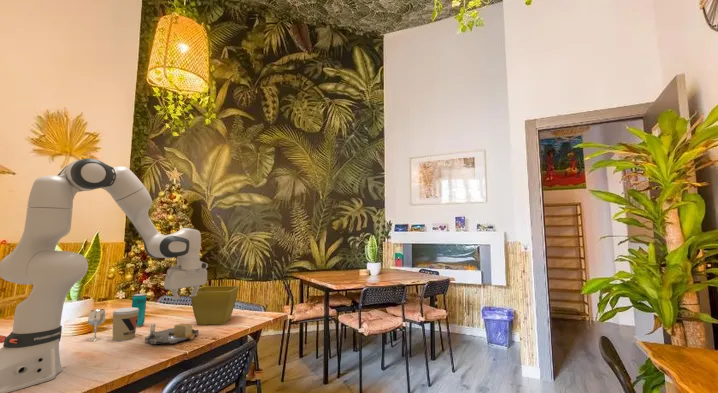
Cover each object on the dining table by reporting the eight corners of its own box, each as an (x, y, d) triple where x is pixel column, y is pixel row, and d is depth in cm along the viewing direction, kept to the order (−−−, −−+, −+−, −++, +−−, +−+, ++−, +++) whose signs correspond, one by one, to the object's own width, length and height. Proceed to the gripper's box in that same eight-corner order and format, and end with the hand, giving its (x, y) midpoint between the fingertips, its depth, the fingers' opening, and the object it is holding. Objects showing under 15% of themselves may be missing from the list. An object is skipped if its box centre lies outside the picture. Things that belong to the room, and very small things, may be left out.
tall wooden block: (185, 336, 137) (185, 326, 138) (173, 335, 139) (174, 325, 139) (191, 334, 140) (192, 324, 141) (180, 332, 142) (181, 323, 143)
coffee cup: (123, 342, 136) (125, 312, 137) (104, 340, 137) (107, 311, 139) (142, 335, 145) (144, 307, 146) (124, 334, 147) (126, 306, 148)
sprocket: (200, 339, 138) (201, 324, 139) (144, 347, 127) (145, 331, 128) (195, 327, 155) (196, 314, 156) (145, 333, 144) (146, 319, 145)
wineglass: (104, 339, 139) (107, 310, 141) (87, 342, 135) (90, 312, 137) (101, 336, 143) (104, 308, 145) (84, 339, 139) (87, 310, 140)
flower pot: (201, 317, 178) (203, 285, 180) (237, 316, 180) (239, 285, 182) (187, 327, 159) (189, 291, 161) (227, 326, 161) (229, 291, 163)
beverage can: (146, 325, 161) (149, 294, 162) (133, 328, 156) (136, 296, 158) (140, 323, 164) (143, 293, 165) (127, 326, 159) (130, 294, 161)
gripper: (174, 267, 132) (170, 302, 130) (210, 264, 152) (208, 295, 150) (161, 266, 134) (158, 301, 132) (199, 263, 154) (196, 294, 152)
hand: (185, 298), depth 141 cm, fingers open, 8 cm apart
